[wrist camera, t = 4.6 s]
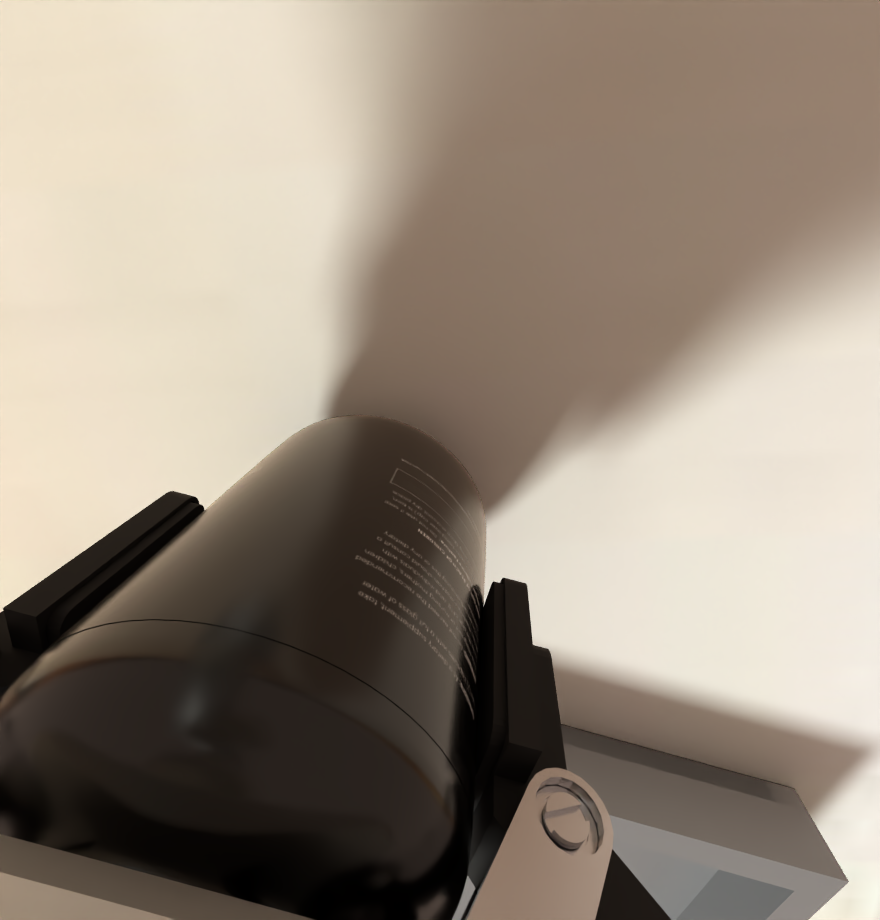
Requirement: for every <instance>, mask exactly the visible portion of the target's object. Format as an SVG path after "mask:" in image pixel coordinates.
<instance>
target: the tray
mask: <svg viewBox="0 0 880 920" xmlns="http://www.w3.org/2000/svg"><path fill="white" fill-rule="evenodd" d="M561 731H562V738H563V745H564V752H565V760H566V767H567V770H568V771H570V772H572V773H574V774H576V775H577V776H579V777H581V778H582V779H583V780H584V781H586V782H587V783H588V784H589V785H590V786H591V787H592V788H593V789H594V790H595V792H596V793H597V794H598V796H599V797H600V799H601V800H602V801H603V803H604V805H605V807H606V809H607V812H608V814H609V816H610V819H611V824H612V829H613V833H614V834H613V848H612V849H613V850H614V851H615V853H616V854H617V855H618V856H619V857H620V859H621V860H622V861H623V862H624V863H625V865H626V866H627V867H628V868H629V869H630V871H631V872H632V873H633V874H634V875H635V877H636V878H637V879H638V880H639V881H640V883H641V884H642V885H643V886H644V887H645V889H646V890H647V891H648V892H649V893H650V895H651V896H652V897H653V898H654V899H655V901H656V902H657V903H658V904H659V905H660V907H661V908H662V909H663V910H664V911H665V913H666V914H667V915H668V916H669V917H670V919H671V920H808V919H809V918H811V917H812V916H813V915H814V914H815V913H816V912H817V911H818V910H819V909H820V908H821V907H822V906H823V905H824V904H826V903H827V902H828V901H829V900H830V899H831V898H832V897H833V896H834V895H835V894H836V893H837V892H838V891H840V890H841V889H842V888H843V887H844V886H845V885H846V884H847V883H848V882H849V881H848V880H847V878H846V876H845V874H844V873H843V871H842V869H841V868H840V866H839V864H838V862H837V861H836V859H835V857H834V856H833V854H832V852H831V851H830V849H829V847H828V845H827V844H826V842H825V840H824V839H823V837H822V835H821V833H820V832H819V830H818V828H817V827H816V825H815V823H814V822H813V820H812V818H811V816H810V815H809V813H808V811H807V810H806V808H805V806H804V804H803V803H802V801H801V799H800V798H799V796H798V794H797V792H796V791H795V789H793V788H789V787H786V786H782V785H778V784H775V783H771V782H768V781H764V780H760V779H757V778H753V777H749V776H746V775H742V774H738V773H735V772H731V771H728V770H724V769H720V768H717V767H713V766H709V765H706V764H702V763H699V762H695V761H691V760H688V759H684V758H680V757H677V756H673V755H670V754H666V753H662V752H659V751H655V750H651V749H648V748H644V747H640V746H637V745H633V744H630V743H626V742H622V741H619V740H615V739H611V738H608V737H604V736H601V735H597V734H593V733H590V732H586V731H582V730H579V729H575V728H572V727H568V726H564V725H561ZM474 888H475V887H474V885H473V883H472V882H471V880H470V878H469V877H468V876H467V879H466V883H465V887H464V890H463V894H462V897H461V900H460V902H459V905H458V908H457V910H456V912H455V914H454V916H453V918H452V920H460V918H461V916H462V914H463V912H464V910H465V908H466V905H467V903H468V901H469V899H470V897H471V895H472V893H473V890H474Z"/></svg>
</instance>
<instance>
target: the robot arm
mask: <svg viewBox="0 0 880 920" xmlns="http://www.w3.org/2000/svg"><path fill="white" fill-rule="evenodd" d="M203 511H204V507H203V506H202V505H200V504H199V501H198V499H197V498H196V497H193V496H190V495H186V494H182V493H178V492H174V491H170V492H168V493H166V494H165V495H163V496H162V497H160V498H159V499H158V500H156V501H155V502H153V503H152V504H150V505H149V506H148V507H146V508H145V509H143V510H142V511H140V512H139V513H138V514H136V515H135V516H133V517H132V518H131V519H129V520H128V521H126V522H125V523H123V524H122V525H121V526H119V527H118V528H116V529H115V530H113V531H112V532H111V533H109V534H108V535H106V536H105V537H103V538H102V539H101V540H99V541H98V542H96V543H95V544H94V545H92V546H91V547H89V548H88V549H86V550H85V551H84V552H82V553H81V554H79V555H78V556H76V557H75V558H74V559H72V560H71V561H69V562H68V563H67V564H65V565H64V566H62V567H61V568H59V569H58V570H57V571H55V572H54V573H52V574H51V575H49V576H48V577H47V578H45V579H44V580H42V581H41V582H39V583H38V584H37V585H35V586H34V587H32V588H31V589H30V590H28V591H27V592H25V593H24V594H22V595H21V596H20V597H18V598H17V599H15V600H14V601H12V602H11V603H10V604H8V605H7V606H5V607H4V608H3V610H4V611H2V612H1V613H0V695H1V694H2V693H3V691H4V690H5V689H6V688H7V687H8V686H9V685H10V684H11V683H12V682H13V681H14V680H15V679H16V678H17V677H18V676H19V675H20V674H21V673H22V672H23V671H24V670H25V669H26V668H27V667H28V666H29V665H30V664H31V663H32V662H34V661H35V660H36V659H37V658H38V657H39V656H40V654H41V653H42V652H44V651H45V650H46V649H47V648H48V647H49V646H50V645H51V644H53V643H54V642H55V641H56V640H57V639H58V638H59V637H60V636H62V635H63V634H64V633H65V632H66V631H67V630H68V629H70V628H71V627H72V626H73V625H74V624H75V623H76V622H78V621H79V620H80V619H81V618H82V617H83V616H84V615H86V614H87V613H88V612H89V611H90V610H91V609H92V608H94V607H95V606H96V605H97V604H98V603H99V602H100V601H102V600H103V599H104V598H105V597H106V596H107V595H108V594H110V593H111V592H112V591H113V590H114V589H115V588H116V587H118V586H119V585H120V584H121V583H122V582H123V581H124V580H126V579H127V578H128V577H129V576H130V575H131V574H132V573H134V572H135V571H136V570H137V569H138V568H139V567H140V566H142V565H143V564H144V563H145V562H146V561H147V560H148V559H150V558H151V557H152V556H153V555H154V554H155V553H156V552H158V551H159V550H160V549H161V548H162V547H163V546H164V545H166V544H167V543H168V542H169V541H170V540H171V539H172V538H174V537H175V536H176V535H177V534H178V533H179V532H180V531H182V530H183V529H184V528H185V527H186V526H187V525H188V524H190V523H191V522H192V521H193V520H194V519H195V518H196V517H198V516H199V515H200V514H201V513H202V512H203ZM613 834H614V833H613V829H612V824H611V819H610V816H609V814H608V812H607V809H606V807H605V805H604V803H603V801H602V800H601V799H600V797H599V796H598V794H597V793H596V792H595V790H594V789H593V788H592V787H591V786H590V785H589V784H588V783H587V782H586V781H584V780H583V779H582V778H581V777H579V776H577V775H576V774H574V773H572V772H570V771H568V770H567V767H566V760H565V752H564V745H563V738H562V731H561V723H560V716H559V709H558V702H557V694H556V687H555V680H554V673H553V665H552V658H551V654H550V651H549V650H548V649H546V648H542V647H538V646H535V645H533V644H532V633H531V622H530V612H529V601H528V590H527V585H526V583H522V582H518V581H514V580H510V579H507V578H503V579H502V580H501V582H500V583H497V582H493V583H492V585H491V587H490V590H489V593H488V596H487V599H486V602H485V604H484V607H483V626H482V647H481V668H480V689H479V710H478V732H477V753H476V774H475V794H474V814H473V829H472V840H471V849H470V859H469V868H468V877H469V878H470V880H471V882H472V883H473V885H474V887H475V888H474V890H473V893H472V895H471V897H470V899H469V901H468V903H467V905H466V908H465V910H464V912H463V914H462V916H461V918H460V920H671V919H670V917H669V916H668V915H667V914H666V913H665V911H664V910H663V909H662V908H661V907H660V905H659V904H658V903H657V902H656V901H655V899H654V898H653V897H652V896H651V895H650V893H649V892H648V891H647V890H646V889H645V887H644V886H643V885H642V884H641V883H640V881H639V880H638V879H637V878H636V877H635V875H634V874H633V873H632V872H631V871H630V869H629V868H628V867H627V866H626V865H625V863H624V862H623V861H622V860H621V859H620V857H619V856H618V855H617V854H616V853H615V851H614V850H613V849H612V848H613ZM0 920H314V919H311V918H307V917H303V916H300V915H296V914H293V913H289V912H285V911H282V910H278V909H274V908H271V907H267V906H264V905H260V904H256V903H253V902H249V901H246V900H242V899H238V898H235V897H231V896H228V895H224V894H220V893H217V892H213V891H209V890H205V889H202V888H198V887H194V886H191V885H187V884H183V883H180V882H176V881H172V880H169V879H165V878H161V877H158V876H154V875H150V874H147V873H143V872H139V871H136V870H132V869H128V868H124V867H121V866H117V865H113V864H110V863H106V862H102V861H99V860H95V859H91V858H87V857H84V856H80V855H76V854H73V853H69V852H65V851H62V850H58V849H54V848H50V847H47V846H43V845H39V844H35V843H32V842H28V841H24V840H20V839H16V838H13V837H9V836H5V835H1V834H0Z"/></svg>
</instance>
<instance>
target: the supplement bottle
mask: <svg viewBox="0 0 880 920" xmlns="http://www.w3.org/2000/svg"><path fill="white" fill-rule="evenodd" d="M485 562H486V521H485V514H484V508H483V504H482V501H481V498H480V495H479V493H478V490H477V488H476V486H475V484H474V482H473V480H472V478H471V477H470V475H469V474H468V472H467V471H466V469H465V468H464V466H463V465H462V464H461V463H460V461H459V460H458V459H457V458H456V457H455V456H454V455H453V454H452V453H451V452H450V451H449V450H448V449H447V448H446V447H445V446H443V445H442V444H441V443H440V442H438V441H437V440H435V439H434V438H433V437H431V436H430V435H428V434H426V433H424V432H423V431H421V430H419V429H417V428H415V427H412V426H410V425H408V424H405V423H402V422H400V421H397V420H393V419H389V418H385V417H378V416H371V415H347V416H340V417H334V418H330V419H325V420H322V421H319V422H317V423H314V424H312V425H310V426H307V427H305V428H303V429H302V430H300V431H299V432H297V433H296V434H294V435H292V436H291V437H290V438H288V439H287V440H286V441H285V442H283V443H282V444H281V445H280V446H278V447H277V448H276V449H275V450H274V451H272V452H271V453H270V454H269V455H267V456H266V457H265V458H264V459H263V460H262V461H260V462H259V463H258V464H257V465H256V466H255V467H254V468H252V469H251V470H250V471H249V472H248V473H247V474H246V475H244V476H243V477H242V478H241V479H240V480H239V481H238V482H236V483H235V484H234V485H233V486H232V487H231V488H230V489H228V490H227V491H226V492H225V493H224V494H223V495H222V496H220V497H219V498H218V499H217V500H216V501H215V502H214V503H212V504H211V505H210V506H209V507H208V508H207V509H206V510H204V511H203V512H202V513H201V514H200V515H199V516H198V517H196V518H195V519H194V520H193V521H192V522H191V523H190V524H188V525H187V526H186V527H185V528H184V529H183V530H182V531H180V532H179V533H178V534H177V535H176V536H175V537H174V538H172V539H171V540H170V541H169V542H168V543H167V544H166V545H164V546H163V547H162V548H161V549H160V550H159V551H158V552H156V553H155V554H154V555H153V556H152V557H151V558H150V559H148V560H147V561H146V562H145V563H144V564H143V565H142V566H140V567H139V568H138V569H137V570H136V571H135V572H134V573H132V574H131V575H130V576H129V577H128V578H127V579H126V580H124V581H123V582H122V583H121V584H120V585H119V586H118V587H116V588H115V589H114V590H113V591H112V592H111V593H110V594H108V595H107V596H106V597H105V598H104V599H103V600H102V601H100V602H99V603H98V604H97V605H96V606H95V607H94V608H92V609H91V610H90V611H89V612H88V613H87V614H86V615H84V616H83V617H82V618H81V619H80V620H79V621H78V622H76V623H75V624H74V625H73V626H72V627H71V628H70V629H68V630H67V631H66V632H65V633H64V634H63V635H62V636H60V637H59V638H58V639H57V640H56V641H55V642H54V643H53V644H51V645H50V646H49V647H48V648H47V649H46V650H45V651H44V652H42V653H41V654H40V656H39V657H38V658H37V659H36V660H35V661H34V662H32V663H31V664H30V665H29V666H28V667H27V668H26V669H25V670H24V671H23V672H22V673H21V674H20V675H19V676H18V677H17V678H16V679H15V680H14V681H13V682H12V683H11V684H10V685H9V686H8V687H7V688H6V689H5V690H4V691H3V693H2V694H1V695H0V834H1V835H5V836H9V837H13V838H16V839H20V840H24V841H28V842H32V843H35V844H39V845H43V846H47V847H50V848H54V849H58V850H62V851H65V852H69V853H73V854H76V855H80V856H84V857H87V858H91V859H95V860H99V861H102V862H106V863H110V864H113V865H117V866H121V867H124V868H128V869H132V870H136V871H139V872H143V873H147V874H150V875H154V876H158V877H161V878H165V879H169V880H172V881H176V882H180V883H183V884H187V885H191V886H194V887H198V888H202V889H205V890H209V891H213V892H217V893H220V894H224V895H228V896H231V897H235V898H238V899H242V900H246V901H249V902H253V903H256V904H260V905H264V906H267V907H271V908H274V909H278V910H282V911H285V912H289V913H293V914H296V915H300V916H303V917H307V918H311V919H314V920H452V918H453V916H454V914H455V912H456V910H457V908H458V905H459V902H460V900H461V897H462V894H463V890H464V887H465V883H466V879H467V876H468V868H469V859H470V849H471V840H472V829H473V814H474V794H475V774H476V753H477V732H478V710H479V689H480V668H481V647H482V626H483V604H484V583H485Z"/></svg>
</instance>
